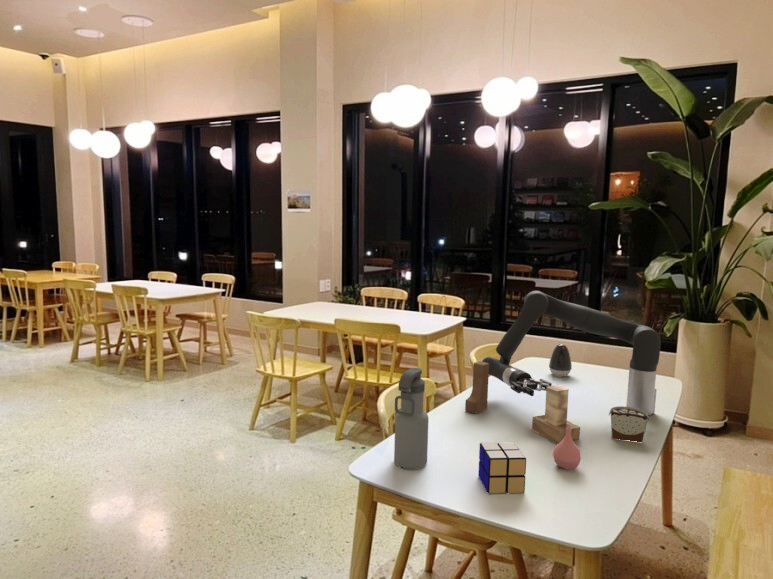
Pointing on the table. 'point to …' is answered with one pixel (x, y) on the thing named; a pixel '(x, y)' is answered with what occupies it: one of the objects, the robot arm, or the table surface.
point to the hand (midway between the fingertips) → (543, 392)
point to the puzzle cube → (502, 468)
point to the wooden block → (478, 388)
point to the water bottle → (411, 422)
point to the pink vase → (567, 452)
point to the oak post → (556, 405)
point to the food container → (628, 423)
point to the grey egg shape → (560, 361)
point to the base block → (554, 429)
